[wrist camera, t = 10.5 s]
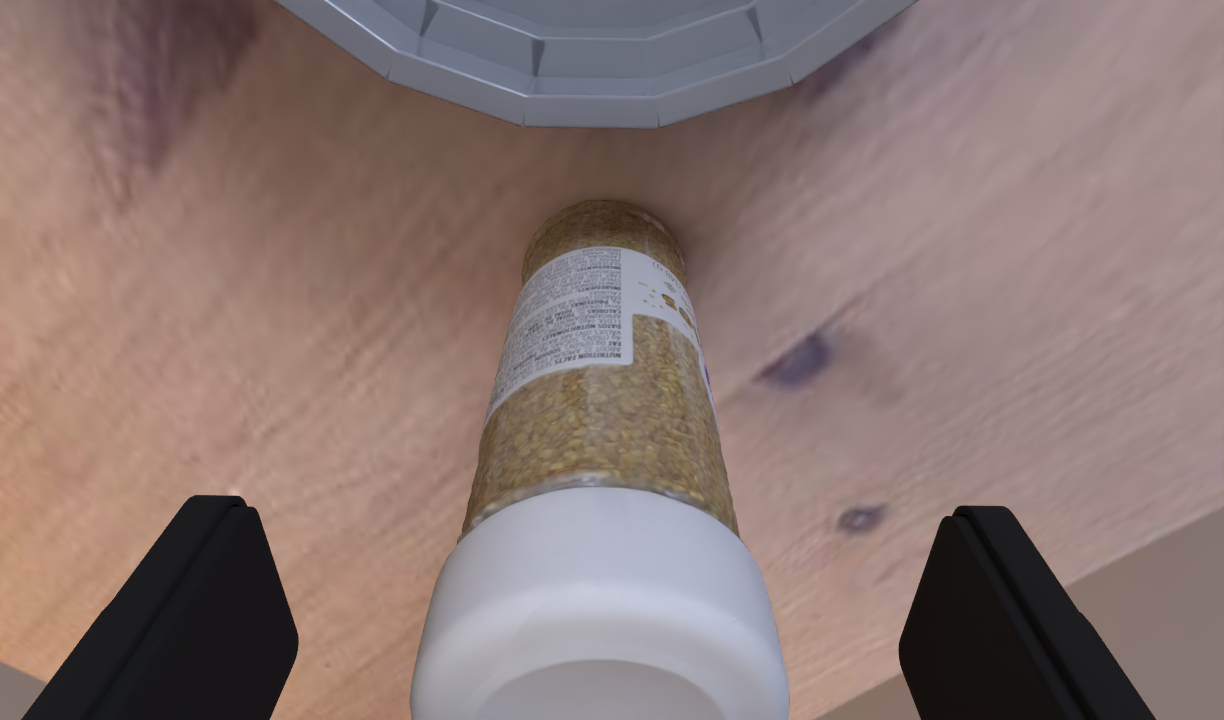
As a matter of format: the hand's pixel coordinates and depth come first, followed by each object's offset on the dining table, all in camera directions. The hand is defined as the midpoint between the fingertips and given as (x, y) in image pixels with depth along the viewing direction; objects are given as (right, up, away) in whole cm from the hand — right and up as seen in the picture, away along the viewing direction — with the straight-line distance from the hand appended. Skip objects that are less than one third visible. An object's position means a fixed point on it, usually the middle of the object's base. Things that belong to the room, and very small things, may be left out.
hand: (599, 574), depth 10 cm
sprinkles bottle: (0, +6, +10) cm, 11 cm away
